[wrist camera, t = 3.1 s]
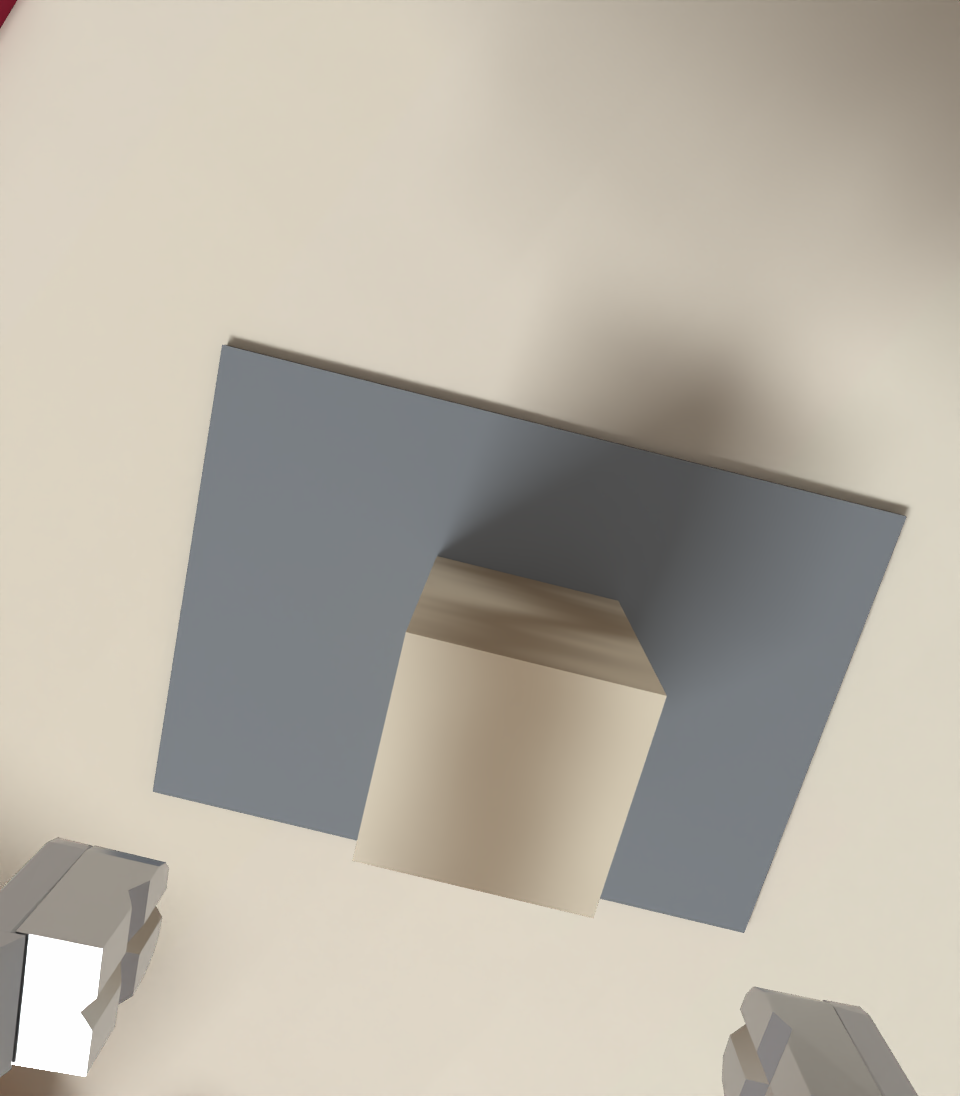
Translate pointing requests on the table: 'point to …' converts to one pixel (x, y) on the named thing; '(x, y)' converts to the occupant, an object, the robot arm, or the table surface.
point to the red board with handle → (5, 9)
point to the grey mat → (519, 549)
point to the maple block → (511, 739)
